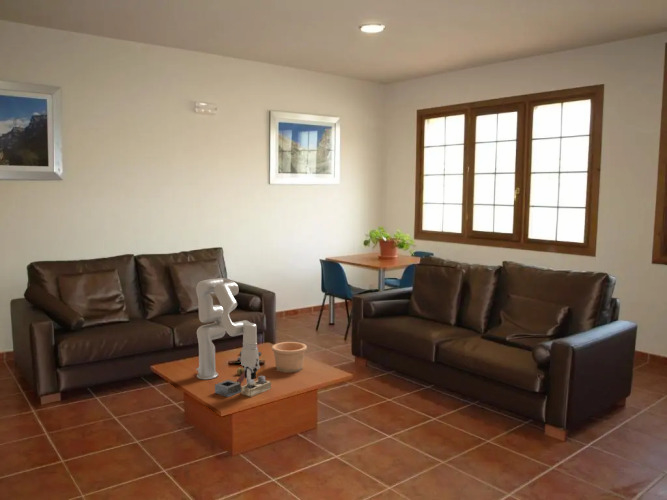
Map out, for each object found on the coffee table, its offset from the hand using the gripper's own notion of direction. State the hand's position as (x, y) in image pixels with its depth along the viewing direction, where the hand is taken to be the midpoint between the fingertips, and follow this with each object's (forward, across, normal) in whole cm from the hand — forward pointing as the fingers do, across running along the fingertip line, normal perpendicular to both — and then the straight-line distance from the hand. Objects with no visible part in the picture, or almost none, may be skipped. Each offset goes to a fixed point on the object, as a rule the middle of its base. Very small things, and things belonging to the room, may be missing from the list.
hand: (250, 377), depth 317 cm
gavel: (+10, -21, +14) cm, 27 cm away
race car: (+10, -47, +46) cm, 66 cm away
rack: (+9, 0, +4) cm, 10 cm away
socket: (+9, -11, -6) cm, 16 cm away
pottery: (+9, -11, +46) cm, 49 cm away
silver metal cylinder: (+6, 0, 0) cm, 6 cm away
